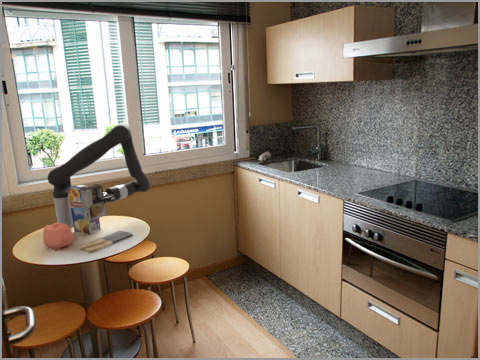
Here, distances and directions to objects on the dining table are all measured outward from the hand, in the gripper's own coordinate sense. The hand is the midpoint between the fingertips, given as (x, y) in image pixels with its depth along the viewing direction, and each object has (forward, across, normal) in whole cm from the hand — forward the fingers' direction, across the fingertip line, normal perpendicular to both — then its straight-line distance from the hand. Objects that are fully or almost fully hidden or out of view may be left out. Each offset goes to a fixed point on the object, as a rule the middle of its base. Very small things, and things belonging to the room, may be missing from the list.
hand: (89, 201), depth 195 cm
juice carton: (-4, -13, +20) cm, 24 cm away
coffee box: (-2, 0, +9) cm, 10 cm away
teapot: (+16, -5, +20) cm, 26 cm away
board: (+1, +11, +19) cm, 22 cm away
